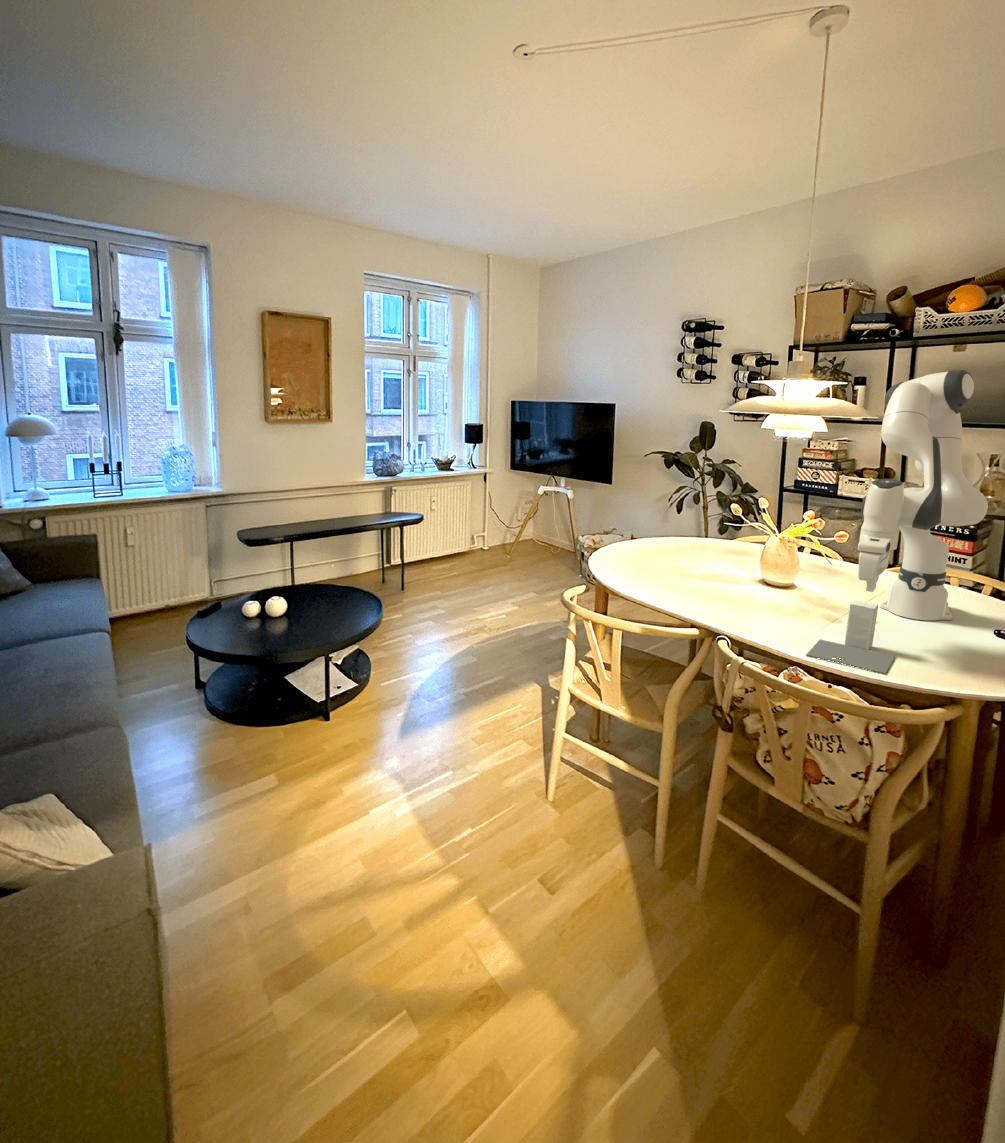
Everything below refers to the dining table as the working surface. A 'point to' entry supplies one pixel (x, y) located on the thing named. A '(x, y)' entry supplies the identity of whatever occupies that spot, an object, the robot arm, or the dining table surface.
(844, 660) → the mat
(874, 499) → the robot arm
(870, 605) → the skincare box
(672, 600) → the dining table surface
